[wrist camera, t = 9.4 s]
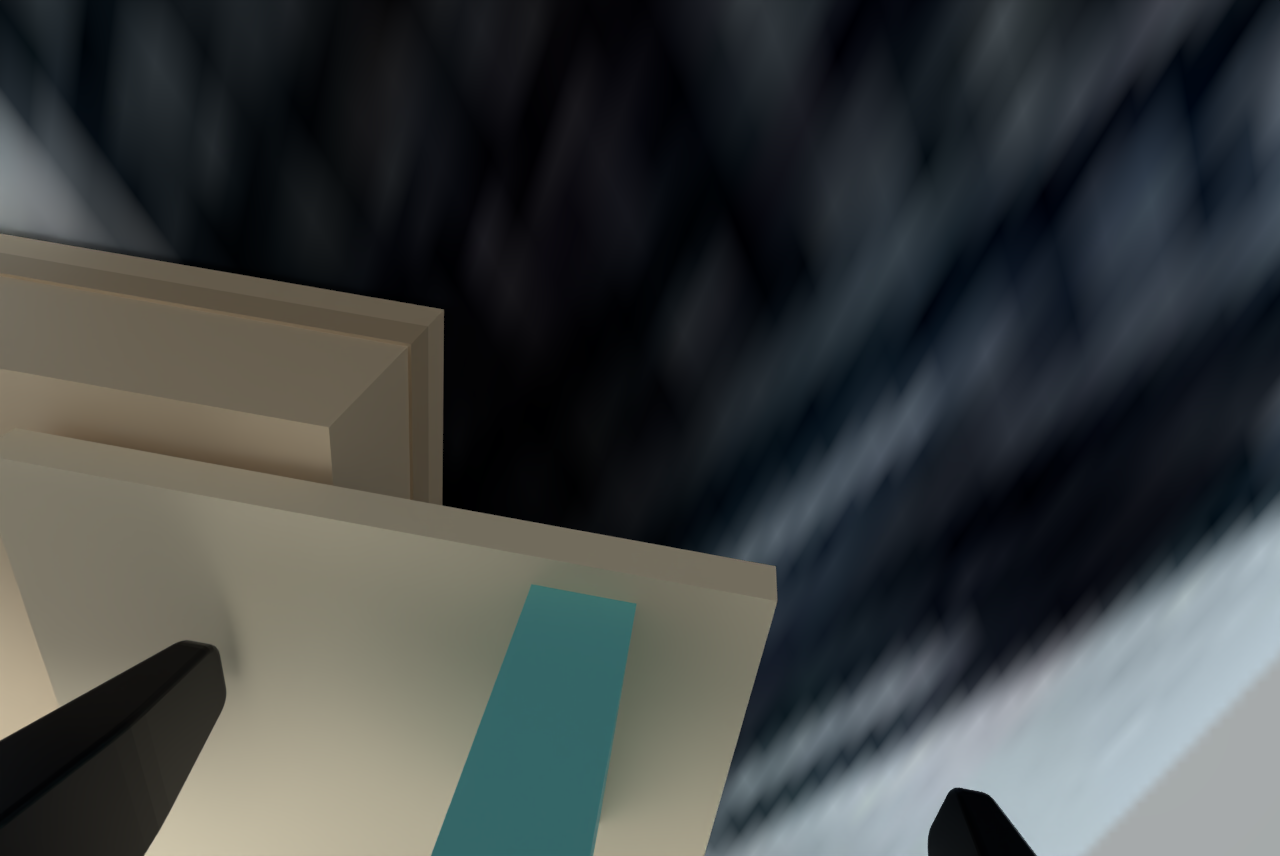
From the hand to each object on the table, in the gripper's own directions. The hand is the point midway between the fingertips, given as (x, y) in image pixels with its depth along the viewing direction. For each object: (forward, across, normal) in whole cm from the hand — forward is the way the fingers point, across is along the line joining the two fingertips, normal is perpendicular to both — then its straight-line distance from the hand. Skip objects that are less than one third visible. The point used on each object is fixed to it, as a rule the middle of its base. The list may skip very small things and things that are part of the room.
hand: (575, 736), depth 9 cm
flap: (+1, +3, +5) cm, 6 cm away
